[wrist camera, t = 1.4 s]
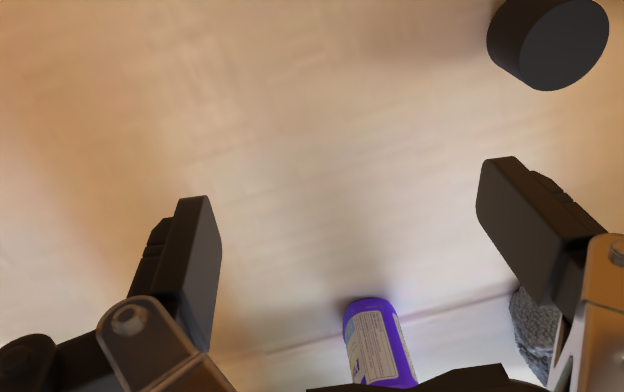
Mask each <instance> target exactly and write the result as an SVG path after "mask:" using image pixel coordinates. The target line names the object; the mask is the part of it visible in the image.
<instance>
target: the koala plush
mask: <svg viewBox="0 0 624 392" xmlns="http://www.w3.org/2000/svg"><path fill="white" fill-rule="evenodd" d="M509 310H510V314H511V317H512V321H513V322H514V326H515V328H514V329H515V338H516V339H515V341H516V343H517V344H518V348H520V350H519V351H520V353H521V355H522V356H523V358H524V359H525V361H526V363H527V364H529V368H531V369H532V371H533V373H534V374H535V375H536V376H537V378H538V379H539V380H540V382H541V383H542V384H543V386H544V387H546V385H547V382H548V377H549V372H550V366H551V360H552V355H553V349H554V343H555V338H556V332H557V326H558V321H559V318H560V316H561V313H562V312H561V311H560V310H559V308H558V307H550V308H543V309H538V308H537V306H536V305H535V303H534V302H533V300H532V299H531V297H530V296H529V294H528V293H527V292H526V290H525V289H524V287H523V286H520V289H519V291H518V292H516V293H514V294H513V298H512V300H511V302H510V305H509Z"/></svg>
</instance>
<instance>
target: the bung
mask: <svg viewBox="0 0 624 392" xmlns="http://www.w3.org/2000/svg"><path fill="white" fill-rule="evenodd" d="M608 36H609V21H608V17H607V14H606V13H605V11H604V9H603V8H602V7H601V6H600V5H599V4H597V3H596V2H594V1H592V0H507V1H506V2H505V3H504V4H503V5H502V6H501V7H500V8H499V9H498V11H497V12H496V13H495V15H494V17H493V19H492V20H491V23H490V25H489V28H488V32H487V39H486V43H487V51H488V53H489V56H490V58H491V59H492V60H493V62H494V63H495V64H497V65H498V66H499V67H501V68H502V69H504V70H506V71H507V72H509V73H510V74H512V75H513V76H515V77H516V78H518V79H519V80H521V81H522V82H524V83H525V84H527V85H528V86H530V87H531V88H533V89H536V90H540V91H554V90H559V89H562V88H565V87H567V86H569V85H571V84H573V83H575V82H576V81H578V80H579V79H581V78H582V77H583V76H584V75H586V74H587V73H588V72H589V71H590V70H591V69H592V67H593V66H594V65H595V64H596V62H597V61H598V60H599V58H600V56H601V55H602V53H603V51H604V49H605V46H606V44H607V40H608Z"/></svg>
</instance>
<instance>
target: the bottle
mask: <svg viewBox="0 0 624 392" xmlns="http://www.w3.org/2000/svg"><path fill="white" fill-rule="evenodd" d="M343 338H344V342H345V344H346V349H347V354H348V358H349V363H350V369H351V374H352V379H353V383H358V384H367V385H375V386H384V387H393V388H402V389H406V388H411V387H414V386H416V385H418V381H417V378H416V375H415V372H414V368H413V365H412V362H411V359H410V356H409V353H408V350H407V347H406V344H405V341H404V337H403V334H402V331H401V328H400V324H399V321H398V316H397V314H396V312H395V310H394V308H393V306H392V305H391V304H390V303H389V302H388V301H387V300H384V299H378V298H373V299H363V300H359V301H356V302H353V303H351V304H350V305H349V306H348V308H347V309H346V312H345V314H344V318H343Z"/></svg>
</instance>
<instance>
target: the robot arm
mask: <svg viewBox="0 0 624 392" xmlns="http://www.w3.org/2000/svg"><path fill="white" fill-rule="evenodd" d="M476 214H477V218H478V221H479V223H480V224H481V226H482V227H483V229H484V230H485V232H486V233H487V235H488V236H489V238H490V239H491V240H492V242H493V243H494V245H495V246H496V248H497V249H498V251H499V252H500V254H501V255H502V256H503V258H504V259H505V261H506V262H507V264H508V265H509V267H510V268H511V270H512V271H513V273H514V274H515V275H516V277H517V278H518V280H519V281H520V283H521V284H522V286H523V287H524V289H525V290H526V292H527V293H528V294H529V296H530V297H531V299H532V300H533V302H534V303H535V305H536V306H537V308H538V309H543V308H550V307H558V308H559V310H560V311H561V312H562V313H561V316H560V318H559V321H558V326H557V332H556V338H555V343H554V349H553V355H552V360H551V366H550V372H549V377H548V382H547V385H546V389H545V388H543V387H540V386H537V385H534V384H531V383H528V382H524V381H520V380H515V379H509V377H508V375H507V373H506V372H505V370H504V368H503V366H502V364H501V363H497V364H490V365H482V366H475V367H468V368H460V369H453V370H451V371H449V372H446V373H444V374H442V375H439V376H437V377H435V378H432V379H430V380H428V381H425V382H423V383H421V384H418V385H416V386H414V387H411V388H406V389H402V388H393V387H384V386H375V385H367V384H358V383H351V384H344V385H336V386H329V387H322V388H315V389H307V390H306V392H624V234H617V233H608V232H607V231H606V230H605V229H604V228H603V227H602V226H601V225H600V224H599V223H598V222H597V221H596V220H595V219H593V218H592V217H591V216H590V215H589V214H588V213H587V212H586V211H585V210H584V209H583V208H582V207H581V206H580V205H578V204H577V203H576V202H573V199H572V198H571V197H570V196H569V195H568V194H567V193H564V192H563V190H562V189H561V188H560V187H559V186H558V185H557V184H556V183H555V182H554V181H553V180H552V179H550V178H548V177H546V176H544V175H542V174H540V173H538V172H536V171H529V170H528V169H527V168H526V167H525V166H524V165H523V164H522V163H521V162H520V161H519V160H518V159H517V158H516V157H514V156H509V157H501V158H494V159H487V160H485V161H484V162H483V164H482V168H481V174H480V180H479V186H478V192H477V198H476ZM142 256H143V258H141V260H140V263H139V266H138V268H137V271H136V274H135V276H134V279H133V282H132V284H131V287H130V290H129V292H128V295H127V298H126V299H125V300H122V301H121V302H119V303H117V304H115V305H114V306H113V307H111V308H110V309H109V310H108V311H107V312H106V313H105V314H104V315H103V316H102V318H101V319H100V321H99V322H98V325H97V327H96V329H95V330H93V331H91V332H89V333H86V334H83V335H81V336H78V337H76V338H73V339H71V340H68V341H65V342H63V343H60V344H58V345H56V344H55V343H54V341H53V340H52V339H51V338H50V337H49V336H47V335H44V334H30V335H26V336H23V337H20V338H18V339H16V340H13V341H11V342H10V343H8V344H6V345H5V346H3V347H2V348H0V392H237V391H236V389H235V388H234V387H233V386H232V384H231V383H230V382H229V381H228V379H227V378H226V377H225V376H224V374H223V373H222V372H221V371H220V369H219V368H218V367H217V366H216V364H215V363H214V362H213V361H212V359H211V358H210V357H209V356H208V355H207V354H206V353H208V352H209V346H210V339H211V332H212V325H213V318H214V311H215V303H216V296H217V289H218V282H219V275H220V268H221V261H222V243H221V237H220V234H219V230H218V227H217V224H216V220H215V217H214V214H213V210H212V207H211V204H210V201H209V198H208V197H207V196H206V195H204V196H196V197H188V198H181V199H179V201H178V204H177V207H176V210H175V213H174V216H173V217H169V218H163V219H162V220H161V221H160V222H159V223H158V225H157V226H156V227H155V228H154V229H153V230H152V231H151V234H150V236H149V239H148V242H147V247H145V250H144V252H143V255H142Z"/></svg>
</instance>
